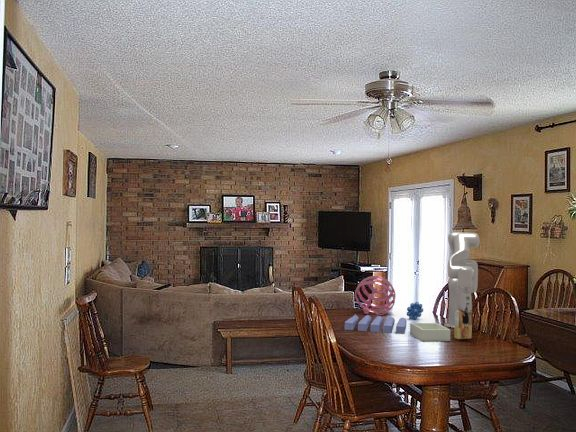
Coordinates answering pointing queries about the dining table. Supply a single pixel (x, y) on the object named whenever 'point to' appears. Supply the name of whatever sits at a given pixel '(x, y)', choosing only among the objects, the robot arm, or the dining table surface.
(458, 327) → the candy box
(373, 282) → the pink lattice ball
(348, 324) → the blocks
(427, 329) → the crate
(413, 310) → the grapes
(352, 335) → the dining table surface
